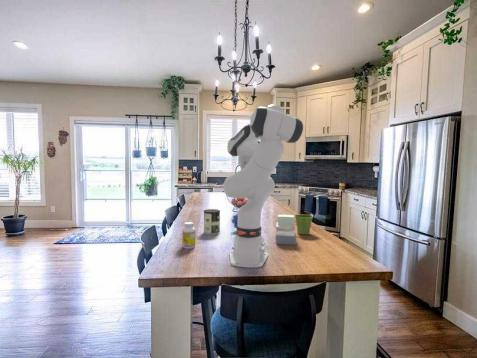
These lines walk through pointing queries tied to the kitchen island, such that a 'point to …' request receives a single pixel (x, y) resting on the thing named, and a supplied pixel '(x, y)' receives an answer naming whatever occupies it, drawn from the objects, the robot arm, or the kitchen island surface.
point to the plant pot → (303, 223)
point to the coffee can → (211, 221)
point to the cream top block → (285, 230)
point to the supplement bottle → (188, 236)
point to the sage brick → (286, 220)
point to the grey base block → (286, 239)
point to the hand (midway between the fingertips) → (245, 185)
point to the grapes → (235, 220)
